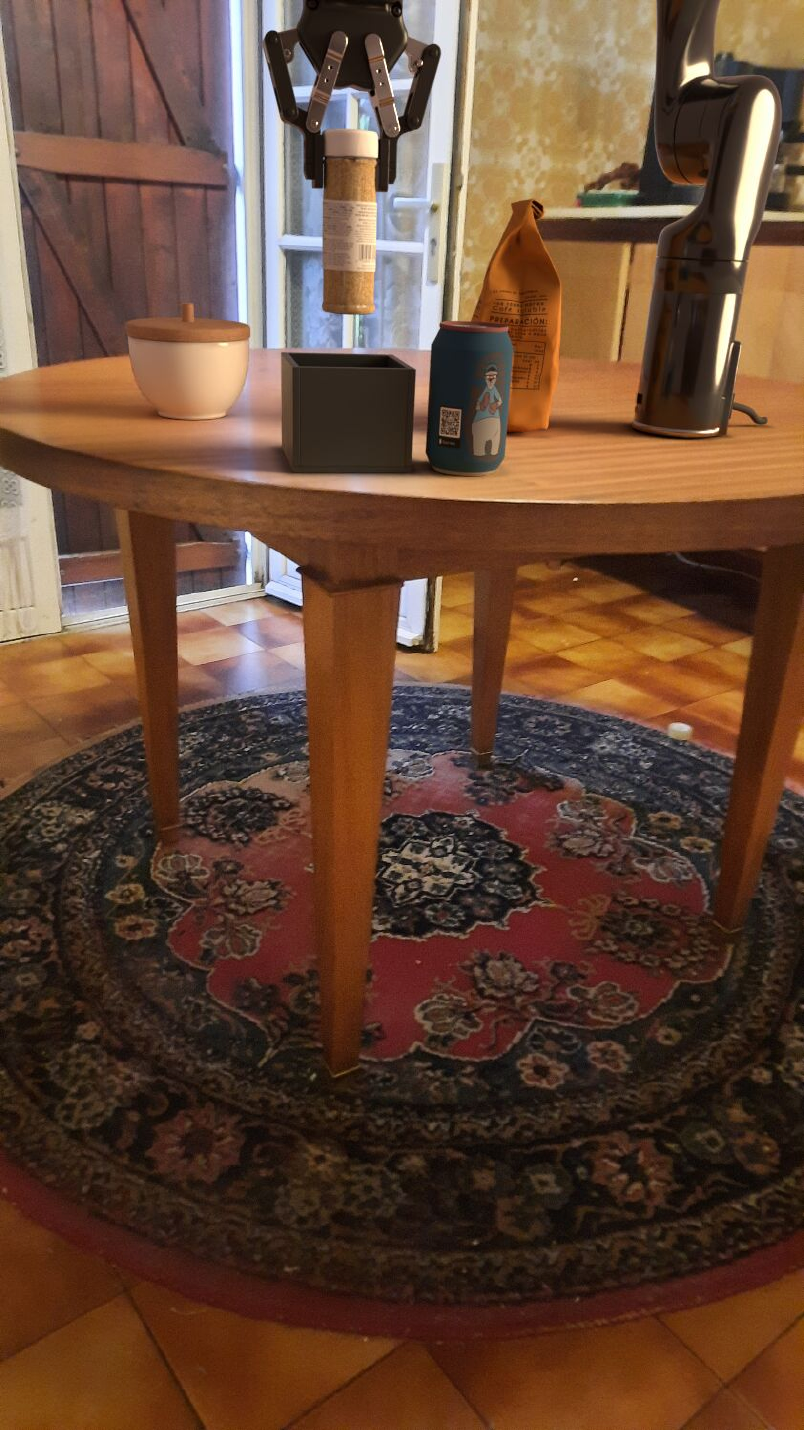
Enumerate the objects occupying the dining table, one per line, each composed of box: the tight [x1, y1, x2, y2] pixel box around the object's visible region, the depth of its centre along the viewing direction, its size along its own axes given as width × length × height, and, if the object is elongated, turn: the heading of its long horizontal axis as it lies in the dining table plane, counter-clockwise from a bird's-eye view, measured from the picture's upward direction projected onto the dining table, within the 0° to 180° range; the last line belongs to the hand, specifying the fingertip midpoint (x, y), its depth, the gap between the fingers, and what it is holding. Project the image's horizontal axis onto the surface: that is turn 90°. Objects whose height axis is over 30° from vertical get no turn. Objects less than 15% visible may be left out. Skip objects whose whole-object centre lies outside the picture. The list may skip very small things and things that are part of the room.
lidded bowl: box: [125, 302, 251, 421], centre depth 106 cm, size 13×13×11 cm
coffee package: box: [470, 197, 562, 433], centre depth 105 cm, size 10×12×22 cm
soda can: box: [425, 320, 514, 477], centre depth 87 cm, size 7×7×12 cm
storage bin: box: [280, 351, 417, 474], centre depth 89 cm, size 10×10×8 cm
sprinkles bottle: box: [321, 128, 380, 316], centre depth 83 cm, size 5×5×13 cm
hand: (350, 189), depth 82 cm, fingers closed on sprinkles bottle, 4 cm apart
